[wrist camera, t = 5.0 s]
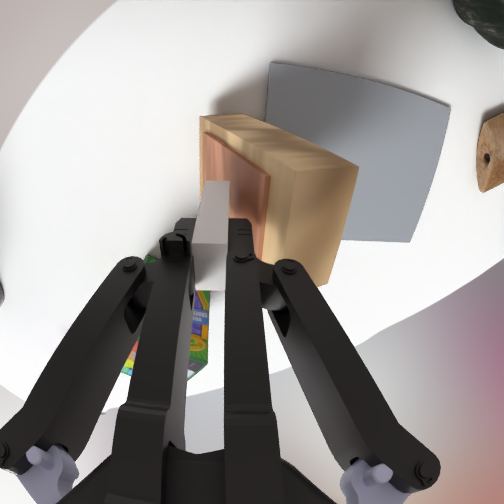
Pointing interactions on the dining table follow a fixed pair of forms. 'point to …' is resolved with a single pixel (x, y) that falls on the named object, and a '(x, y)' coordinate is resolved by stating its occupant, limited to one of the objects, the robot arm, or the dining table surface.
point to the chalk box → (198, 334)
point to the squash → (484, 18)
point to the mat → (365, 142)
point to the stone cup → (491, 154)
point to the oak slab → (280, 189)
